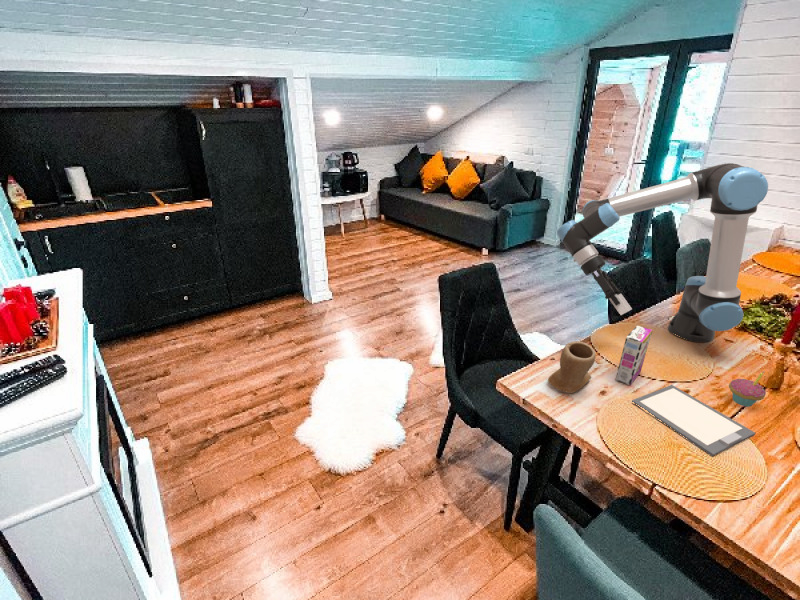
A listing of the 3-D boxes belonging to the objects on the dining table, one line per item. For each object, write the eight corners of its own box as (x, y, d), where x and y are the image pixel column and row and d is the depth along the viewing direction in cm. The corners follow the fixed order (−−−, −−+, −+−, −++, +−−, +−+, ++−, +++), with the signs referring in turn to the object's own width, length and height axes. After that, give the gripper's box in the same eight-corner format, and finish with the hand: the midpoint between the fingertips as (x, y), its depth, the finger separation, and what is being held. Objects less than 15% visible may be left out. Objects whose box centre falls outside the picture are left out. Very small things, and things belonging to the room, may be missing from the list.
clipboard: (671, 386, 134) (672, 382, 133) (754, 435, 114) (756, 430, 113) (631, 402, 127) (632, 398, 127) (712, 456, 108) (714, 451, 107)
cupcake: (761, 401, 127) (775, 367, 122) (758, 415, 121) (772, 380, 116) (727, 389, 132) (739, 357, 127) (722, 402, 127) (734, 369, 122)
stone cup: (576, 402, 128) (584, 360, 122) (542, 384, 137) (548, 344, 130) (601, 382, 137) (609, 343, 130) (567, 367, 145) (574, 329, 139)
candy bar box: (631, 386, 135) (642, 342, 128) (614, 380, 138) (625, 337, 131) (642, 371, 142) (653, 329, 135) (626, 366, 145) (636, 324, 138)
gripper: (585, 268, 159) (620, 315, 153) (572, 265, 138) (611, 320, 132) (604, 256, 155) (639, 304, 150) (593, 251, 134) (634, 307, 129)
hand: (626, 312), depth 141 cm, fingers open, 13 cm apart
